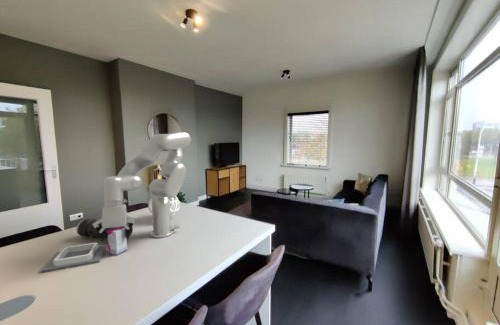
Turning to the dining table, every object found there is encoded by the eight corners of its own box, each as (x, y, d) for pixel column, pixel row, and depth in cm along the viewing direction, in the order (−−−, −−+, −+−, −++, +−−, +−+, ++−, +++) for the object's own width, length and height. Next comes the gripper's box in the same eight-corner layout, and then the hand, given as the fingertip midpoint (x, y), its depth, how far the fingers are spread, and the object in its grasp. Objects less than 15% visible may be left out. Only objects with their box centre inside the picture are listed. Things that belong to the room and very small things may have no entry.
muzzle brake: (120, 245, 112) (119, 225, 111) (75, 240, 118) (73, 222, 116) (133, 237, 121) (132, 219, 120) (91, 233, 127) (90, 216, 126)
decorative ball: (178, 212, 163) (177, 186, 161) (182, 221, 144) (181, 192, 142) (149, 216, 154) (147, 189, 153) (148, 226, 136) (147, 196, 134)
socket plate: (107, 246, 111) (106, 239, 110) (99, 262, 96) (98, 254, 96) (57, 254, 103) (57, 247, 103) (40, 273, 89) (39, 265, 88)
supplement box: (127, 249, 107) (126, 227, 106) (117, 255, 102) (115, 232, 100) (118, 248, 109) (117, 225, 108) (107, 253, 103) (106, 230, 102)
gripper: (135, 199, 109) (136, 232, 111) (94, 202, 103) (95, 238, 104) (134, 203, 102) (135, 238, 104) (89, 206, 96) (91, 244, 97)
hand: (115, 238), depth 104 cm, fingers open, 9 cm apart
